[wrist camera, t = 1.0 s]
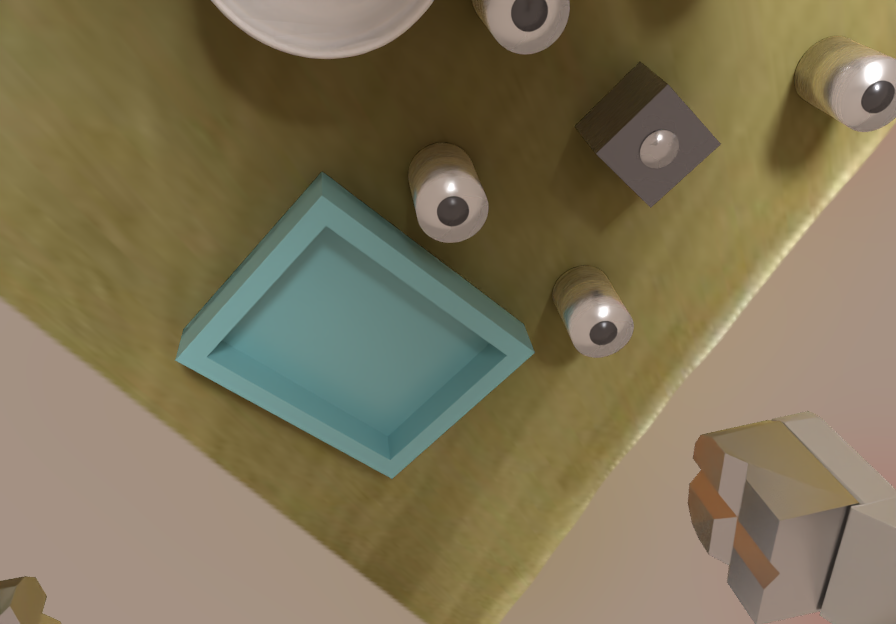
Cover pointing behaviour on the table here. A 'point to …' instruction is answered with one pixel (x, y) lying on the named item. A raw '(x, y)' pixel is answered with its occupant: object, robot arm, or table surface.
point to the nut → (646, 134)
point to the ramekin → (324, 24)
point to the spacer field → (587, 287)
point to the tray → (353, 332)
